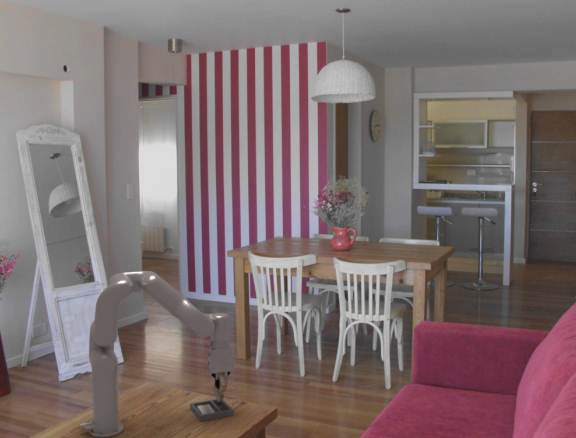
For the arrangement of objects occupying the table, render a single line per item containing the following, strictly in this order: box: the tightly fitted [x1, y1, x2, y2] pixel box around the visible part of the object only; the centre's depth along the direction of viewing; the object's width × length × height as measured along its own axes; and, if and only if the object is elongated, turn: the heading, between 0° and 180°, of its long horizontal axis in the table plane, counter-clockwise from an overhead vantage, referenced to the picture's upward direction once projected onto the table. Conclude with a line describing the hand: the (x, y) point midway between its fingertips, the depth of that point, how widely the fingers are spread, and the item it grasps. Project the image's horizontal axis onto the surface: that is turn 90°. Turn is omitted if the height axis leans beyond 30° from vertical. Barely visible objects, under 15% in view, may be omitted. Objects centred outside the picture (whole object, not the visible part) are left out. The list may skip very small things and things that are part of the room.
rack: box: [189, 398, 234, 423], centre depth 266 cm, size 14×14×3 cm
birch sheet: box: [212, 372, 228, 403], centre depth 267 cm, size 2×7×12 cm
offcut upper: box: [197, 404, 215, 415], centre depth 265 cm, size 5×10×2 cm, turn 21°
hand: (220, 387), depth 266 cm, fingers closed on birch sheet, 1 cm apart
